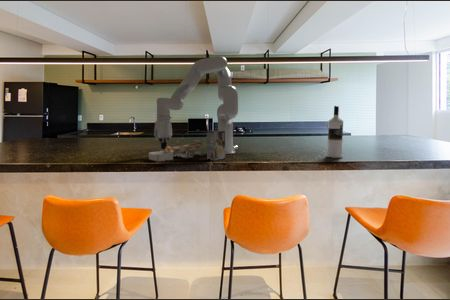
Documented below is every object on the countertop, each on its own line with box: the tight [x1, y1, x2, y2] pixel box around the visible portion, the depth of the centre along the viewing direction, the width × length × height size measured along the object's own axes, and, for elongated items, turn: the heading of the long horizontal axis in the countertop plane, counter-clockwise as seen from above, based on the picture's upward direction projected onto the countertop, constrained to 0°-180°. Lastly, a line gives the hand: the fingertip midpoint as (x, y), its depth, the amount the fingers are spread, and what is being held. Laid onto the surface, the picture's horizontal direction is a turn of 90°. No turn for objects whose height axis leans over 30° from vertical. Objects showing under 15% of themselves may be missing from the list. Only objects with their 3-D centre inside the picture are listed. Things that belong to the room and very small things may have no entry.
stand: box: [164, 150, 203, 159], centre depth 187 cm, size 21×17×4 cm
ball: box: [164, 145, 172, 153], centre depth 177 cm, size 4×4×4 cm
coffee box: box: [206, 130, 226, 161], centre depth 175 cm, size 9×6×16 cm
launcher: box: [160, 140, 203, 154], centre depth 187 cm, size 21×14×4 cm
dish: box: [148, 150, 174, 163], centre depth 174 cm, size 10×10×4 cm
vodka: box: [325, 105, 344, 159], centre depth 179 cm, size 9×9×30 cm
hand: (163, 149), depth 185 cm, fingers closed
